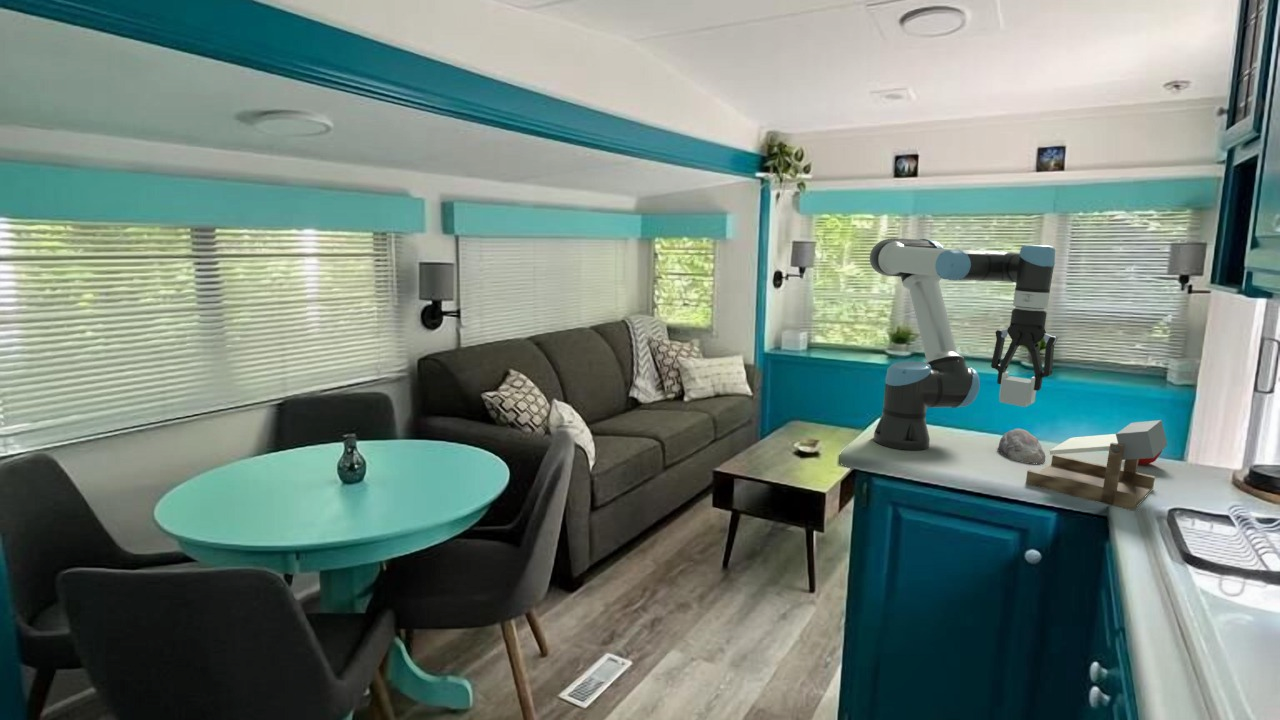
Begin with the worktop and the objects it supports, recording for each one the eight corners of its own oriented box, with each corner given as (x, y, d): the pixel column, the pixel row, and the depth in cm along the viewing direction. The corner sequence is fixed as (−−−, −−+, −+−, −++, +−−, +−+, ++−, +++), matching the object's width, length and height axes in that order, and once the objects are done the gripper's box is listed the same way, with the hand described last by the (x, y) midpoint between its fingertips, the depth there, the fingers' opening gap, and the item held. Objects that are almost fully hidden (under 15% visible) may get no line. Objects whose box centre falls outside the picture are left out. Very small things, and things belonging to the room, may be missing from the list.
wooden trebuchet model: (1025, 483, 169) (1033, 428, 167) (1052, 465, 184) (1060, 414, 182) (1133, 510, 154) (1143, 450, 151) (1153, 488, 169) (1162, 433, 166)
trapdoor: (1052, 464, 166) (1047, 440, 167) (1073, 451, 179) (1068, 428, 179) (1152, 458, 152) (1146, 431, 152) (1168, 444, 164) (1162, 419, 165)
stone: (1030, 484, 186) (1062, 461, 184) (1005, 457, 186) (1037, 434, 184) (1009, 465, 203) (1038, 444, 200) (986, 439, 203) (1015, 418, 200)
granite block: (999, 401, 175) (1002, 378, 174) (1007, 398, 179) (1010, 376, 178) (1024, 406, 171) (1028, 383, 169) (1032, 403, 175) (1036, 380, 174)
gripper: (983, 305, 174) (971, 394, 179) (1068, 313, 161) (1054, 410, 165) (994, 304, 180) (982, 390, 184) (1077, 312, 166) (1063, 405, 171)
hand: (1016, 399), depth 175 cm, fingers closed on granite block, 6 cm apart
